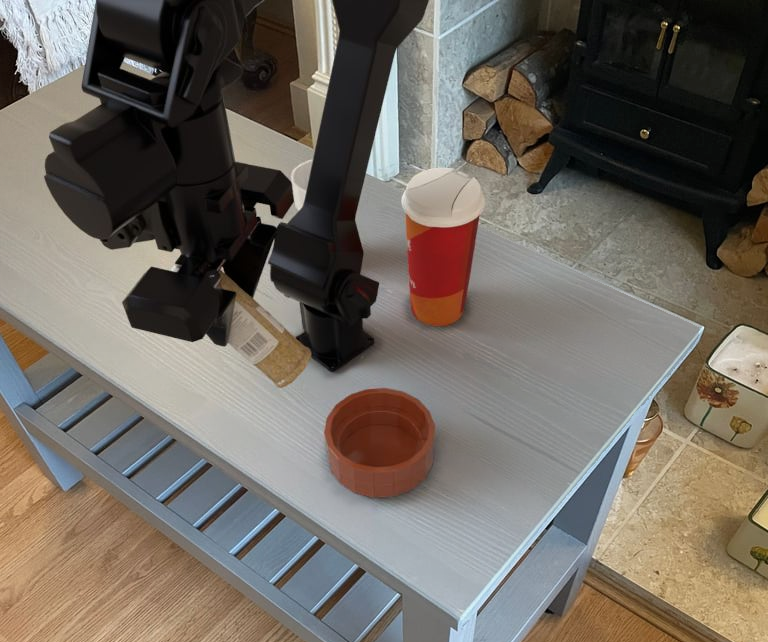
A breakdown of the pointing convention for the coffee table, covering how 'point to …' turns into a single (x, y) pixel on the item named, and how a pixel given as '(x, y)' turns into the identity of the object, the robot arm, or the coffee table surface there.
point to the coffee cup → (441, 241)
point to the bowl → (380, 442)
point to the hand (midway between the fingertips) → (232, 326)
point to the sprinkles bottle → (263, 338)
